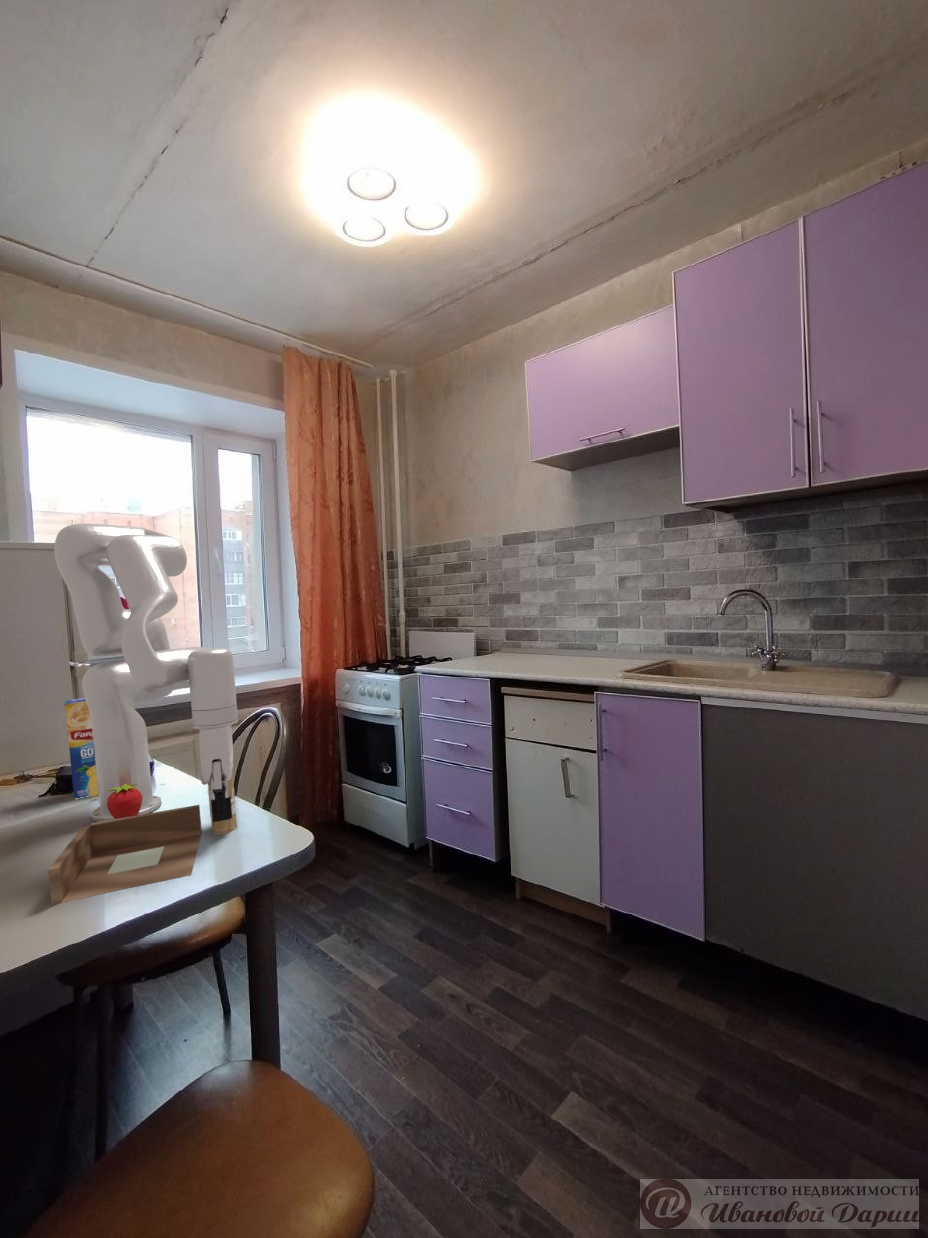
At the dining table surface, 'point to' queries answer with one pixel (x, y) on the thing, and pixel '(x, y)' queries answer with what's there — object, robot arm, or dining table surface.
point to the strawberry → (124, 801)
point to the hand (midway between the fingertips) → (223, 814)
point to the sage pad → (136, 860)
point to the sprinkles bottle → (231, 824)
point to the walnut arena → (103, 841)
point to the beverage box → (81, 748)
